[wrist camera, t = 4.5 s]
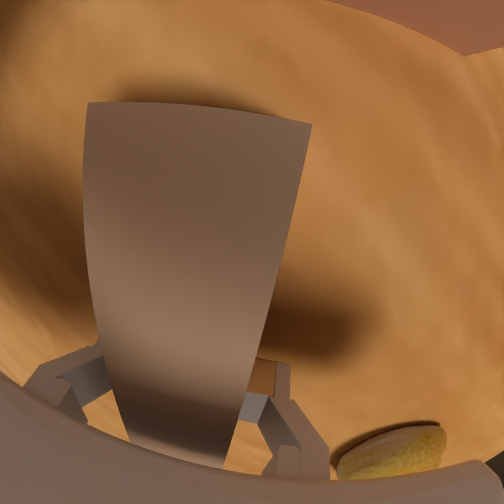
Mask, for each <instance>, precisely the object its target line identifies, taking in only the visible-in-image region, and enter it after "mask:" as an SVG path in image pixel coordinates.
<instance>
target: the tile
mask: <svg viewBox="0 0 504 504" xmlns="http://www.w3.org/2000/svg"><path fill="white" fill-rule="evenodd" d="M325 1H330V2H334V3H338V4H341V5H345V6H349V7H352V8H355V9H359V10H362V11H365V12H368V13H371V14H374V15H377V16H380V17H383V18H385V19H388V20H391V21H393V22H396V23H398V24H401V25H403V26H405V27H408V28H410V29H412V30H415V31H417V32H419V33H421V34H423V35H425V36H427V37H430V38H432V39H434V40H436V41H437V42H439V43H441V44H443V45H445V46H447V47H449V48H451V49H452V50H454V51H456V52H458V53H459V54H461V55H463V56H468V55H472V54H476V53H480V52H484V51H488V50H492V49H496V48H501V47H504V0H325Z"/></svg>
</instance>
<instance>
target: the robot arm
mask: <svg viewBox="0 0 504 504" xmlns="http://www.w3.org/2000/svg"><path fill="white" fill-rule="evenodd" d="M290 374H291V365H290V363H284V362H278V361H276V362H275V361H272V360H266V359H260V358H255V361H254V365H253V368H252V372H251V376H250V379H249V382H248V386H247V389H246V393H245V396H244V400H243V403H242V407H241V410H240V413H239V417H238V420H242V421H247V422H252V423H257V424H258V427H259V429H260V431H261V433H262V435H263V437H264V439H265V441H266V443H267V445H268V447H269V449H270V450H271V452H272V454H273V457H272V459H271V460H270V461H269V463H268V464H267V466H266V467H265V469H264V470H263V471H262V476H261V475H253V474H246V473H240V472H234V471H229V470H223V469H218V468H214V467H209V466H205V465H200V464H196V463H192V462H188V461H185V460H181V459H177V458H174V457H171V456H167V455H164V454H161V453H158V452H155V451H152V450H149V449H146V448H143V447H140V446H137V445H135V444H132V443H129V442H127V441H124V440H122V439H119V438H117V437H114V436H112V435H110V434H107V433H105V432H103V431H101V430H98V429H96V428H94V427H92V426H90V425H88V424H87V422H88V420H87V417H86V415H85V413H84V411H83V409H82V407H83V406H85V405H87V404H88V403H90V402H92V401H93V400H95V399H97V398H98V397H100V396H101V395H103V394H105V393H106V392H108V391H110V390H111V389H112V386H111V383H110V379H109V376H108V372H107V368H106V365H105V361H104V357H103V353H102V348H101V344H100V340H99V339H98V340H97V341H96V343H95V344H94V345H93V347H92V346H87V347H84V348H82V349H79V350H77V351H74V352H72V353H69V354H67V355H64V356H62V357H59V358H57V359H54V360H51V361H49V362H46V363H44V364H41V365H39V367H38V368H37V369H36V371H35V372H34V373H33V374H32V376H31V377H30V378H29V379H28V381H27V382H26V383H25V385H24V386H23V387H22V386H20V385H19V384H17V383H16V382H14V381H13V380H12V379H10V378H9V377H7V376H6V375H5V374H3V373H2V372H1V371H0V504H504V490H503V487H502V483H501V481H500V478H499V477H498V476H497V475H496V474H495V473H494V472H493V471H492V470H491V469H490V468H489V467H488V466H487V465H486V464H485V463H483V462H482V461H480V460H478V459H474V460H469V461H466V462H462V463H459V464H455V465H451V466H447V467H443V468H438V469H433V470H428V471H423V472H418V473H412V474H405V475H398V476H390V477H381V478H369V479H351V480H330V461H329V447H328V446H327V444H326V443H325V442H324V440H323V439H322V438H321V436H320V435H319V434H318V432H317V431H316V430H315V428H314V427H313V426H312V424H311V423H310V421H309V420H308V419H307V417H306V416H305V415H304V413H303V412H302V410H301V409H300V408H299V406H298V405H297V403H296V402H295V401H294V400H291V399H290Z"/></svg>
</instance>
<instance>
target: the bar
mask: <svg viewBox="0 0 504 504" xmlns="http://www.w3.org/2000/svg"><path fill="white" fill-rule="evenodd" d="M311 128H312V124H308V123H303V122H299V121H294V120H289V119H285V118H280V117H274V116H269V115H264V114H258V113H252V112H246V111H239V110H232V109H224V108H216V107H208V106H198V105H187V104H173V103H154V102H92V103H88V107H87V116H86V126H85V138H84V156H83V218H84V235H85V248H86V259H87V268H88V276H89V284H90V291H91V297H92V303H93V309H94V315H95V320H96V325H97V330H98V335H99V340H100V344H101V348H102V353H103V357H104V361H105V365H106V368H107V372H108V376H109V379H110V383H111V386H112V390H113V393H114V396H115V399H116V403H117V406H118V409H119V412H120V415H121V417H122V420H123V423H124V426H125V429H126V431H127V434H128V436H129V439H130V442H131V443H132V444H135V445H137V446H140V447H143V448H146V449H149V450H152V451H155V452H158V453H161V454H164V455H167V456H171V457H174V458H177V459H181V460H185V461H188V462H192V463H196V464H200V465H205V466H209V467H214V468H218V469H222V468H223V465H224V462H225V459H226V456H227V452H228V449H229V446H230V443H231V440H232V436H233V433H234V430H235V427H236V423H237V420H238V417H239V413H240V410H241V407H242V403H243V400H244V396H245V393H246V389H247V386H248V382H249V379H250V376H251V372H252V368H253V365H254V361H255V358H256V354H257V351H258V347H259V343H260V340H261V336H262V332H263V329H264V325H265V321H266V317H267V314H268V310H269V306H270V302H271V298H272V295H273V291H274V287H275V283H276V279H277V275H278V271H279V267H280V263H281V259H282V255H283V251H284V247H285V243H286V239H287V235H288V231H289V226H290V222H291V218H292V214H293V210H294V205H295V201H296V197H297V192H298V188H299V184H300V179H301V175H302V170H303V166H304V161H305V157H306V152H307V147H308V143H309V138H310V133H311Z"/></svg>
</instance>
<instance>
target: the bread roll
mask: <svg viewBox="0 0 504 504" xmlns="http://www.w3.org/2000/svg"><path fill="white" fill-rule="evenodd" d="M446 443H447V434H446V432H445V430H444V429H443V428H442V427H439V426H436V425H434V426H432V425H421V426H410V427H402V428H398V429H395V430H391V431H388V432H385V433H382V434H380V435H377V436H375V437H373V438H371V439H368V440H367V441H365V442H363V443H362V444H360V445H358V446H356V447H355V448H353V449H351V450H350V451H348V452H347V453H346V454H344V455H343V456H342V457H341V459H340V461H339V463H338V465H337V470H336V474H337V478H338V479H339V480H351V479H369V478H381V477H390V476H398V475H405V474H412V473H418V472H423V471H428V470H433V469H437V468H438V466H439V464H440V461H441V456H442V454H443V452H444V450H445V448H446Z"/></svg>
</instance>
